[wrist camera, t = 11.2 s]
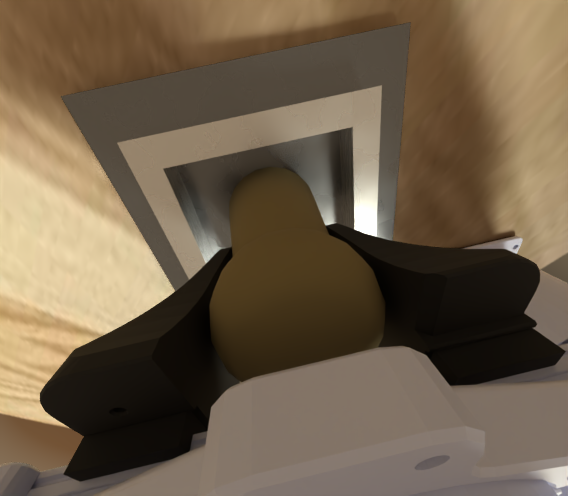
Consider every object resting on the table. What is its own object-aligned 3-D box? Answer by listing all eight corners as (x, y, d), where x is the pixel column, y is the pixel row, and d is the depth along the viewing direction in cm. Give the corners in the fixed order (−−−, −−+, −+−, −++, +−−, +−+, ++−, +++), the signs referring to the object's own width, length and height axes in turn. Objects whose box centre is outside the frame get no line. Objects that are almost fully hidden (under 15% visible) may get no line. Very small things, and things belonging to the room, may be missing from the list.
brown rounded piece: (313, 247, 16) (395, 407, 7) (235, 253, 16) (205, 438, 6) (317, 164, 14) (472, 244, 4) (221, 168, 13) (129, 273, 3)
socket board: (383, 281, 21) (401, 303, 18) (202, 323, 20) (194, 352, 18) (399, 30, 12) (440, 1, 9) (75, 99, 11) (21, 89, 9)
